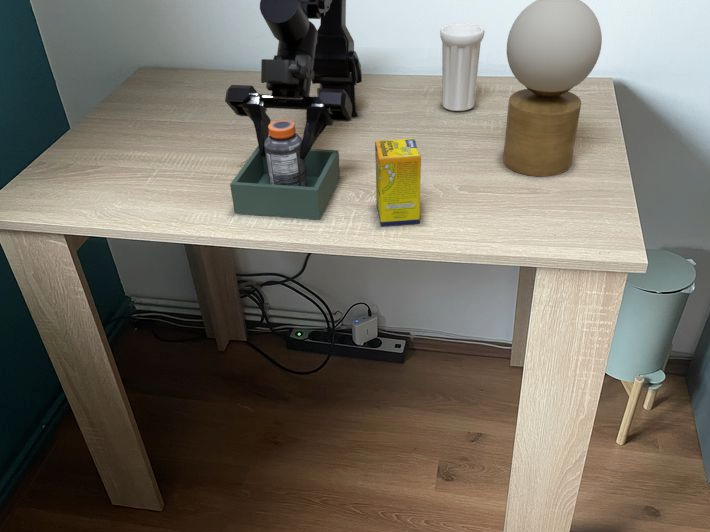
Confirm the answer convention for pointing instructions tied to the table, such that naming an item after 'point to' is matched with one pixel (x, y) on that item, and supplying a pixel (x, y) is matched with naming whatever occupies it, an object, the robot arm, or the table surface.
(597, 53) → the lamp
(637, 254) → the table surface
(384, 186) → the supplement box
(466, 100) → the cup
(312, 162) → the green square tray
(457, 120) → the table surface
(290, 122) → the pill bottle
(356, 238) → the table surface
